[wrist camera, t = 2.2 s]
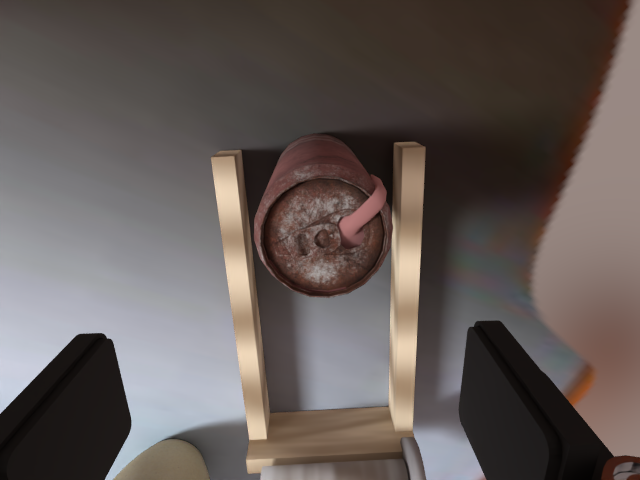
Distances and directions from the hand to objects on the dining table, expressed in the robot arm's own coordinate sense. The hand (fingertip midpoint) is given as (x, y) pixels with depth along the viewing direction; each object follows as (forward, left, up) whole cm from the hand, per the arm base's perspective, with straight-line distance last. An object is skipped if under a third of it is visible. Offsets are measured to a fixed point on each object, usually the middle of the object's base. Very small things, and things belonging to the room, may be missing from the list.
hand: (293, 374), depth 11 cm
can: (-1, +1, -21) cm, 21 cm away
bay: (+11, +2, -21) cm, 24 cm away
